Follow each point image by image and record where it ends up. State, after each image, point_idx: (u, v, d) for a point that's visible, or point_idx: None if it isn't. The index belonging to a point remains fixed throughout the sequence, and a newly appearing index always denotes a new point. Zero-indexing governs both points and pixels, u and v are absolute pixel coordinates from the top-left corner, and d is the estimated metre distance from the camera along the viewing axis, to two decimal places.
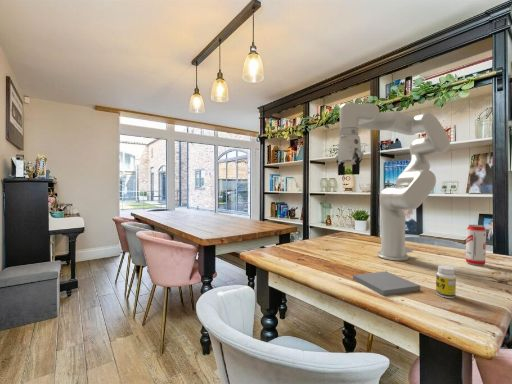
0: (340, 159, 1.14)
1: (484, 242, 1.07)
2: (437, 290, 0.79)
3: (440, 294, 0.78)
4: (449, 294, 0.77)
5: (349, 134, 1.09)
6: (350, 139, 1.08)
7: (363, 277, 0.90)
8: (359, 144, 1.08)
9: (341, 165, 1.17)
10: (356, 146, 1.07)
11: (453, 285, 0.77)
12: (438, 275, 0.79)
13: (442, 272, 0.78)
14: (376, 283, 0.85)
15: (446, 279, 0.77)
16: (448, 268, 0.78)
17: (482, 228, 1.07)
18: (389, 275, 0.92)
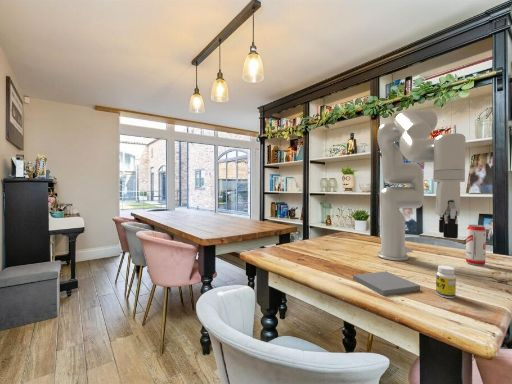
0: None
1: (484, 242, 1.07)
2: (437, 290, 0.79)
3: (440, 294, 0.78)
4: (449, 294, 0.77)
5: None
6: None
7: (363, 277, 0.90)
8: None
9: None
10: None
11: (453, 285, 0.77)
12: (438, 275, 0.79)
13: (442, 272, 0.78)
14: (376, 283, 0.85)
15: (446, 279, 0.77)
16: (448, 268, 0.78)
17: (482, 228, 1.08)
18: (389, 275, 0.92)
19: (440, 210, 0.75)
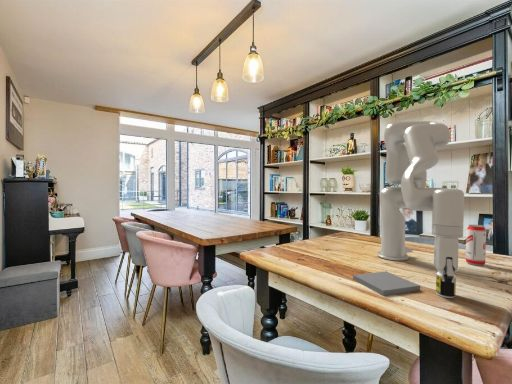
0: None
1: (484, 242, 1.07)
2: (437, 290, 0.79)
3: (440, 294, 0.78)
4: None
5: None
6: None
7: (363, 277, 0.90)
8: None
9: None
10: None
11: None
12: (438, 275, 0.79)
13: None
14: (376, 283, 0.85)
15: None
16: None
17: (482, 228, 1.07)
18: (389, 275, 0.92)
19: (438, 266, 0.76)
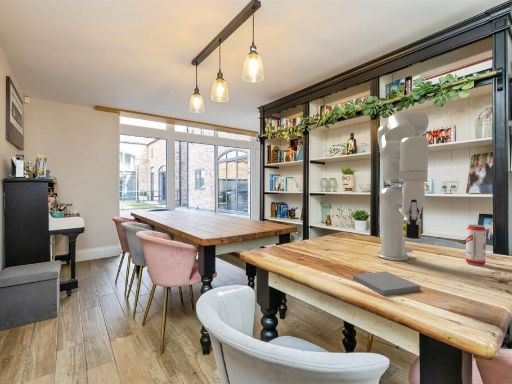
0: None
1: (484, 242, 1.07)
2: (404, 234, 0.84)
3: (406, 237, 0.83)
4: None
5: None
6: None
7: (363, 277, 0.90)
8: None
9: None
10: None
11: None
12: (405, 220, 0.83)
13: None
14: (376, 283, 0.85)
15: None
16: None
17: (482, 228, 1.07)
18: (389, 275, 0.92)
19: (404, 209, 0.80)
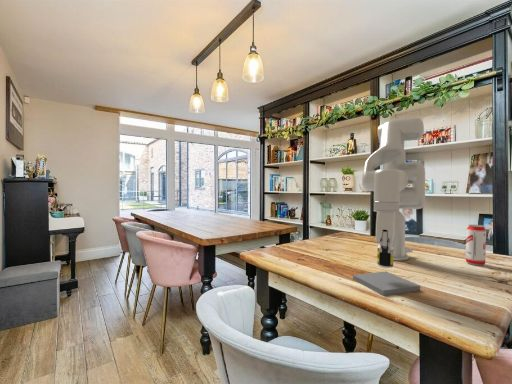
0: (392, 241, 0.84)
1: (484, 242, 1.07)
2: (377, 262, 0.87)
3: (379, 264, 0.86)
4: None
5: None
6: None
7: (363, 277, 0.90)
8: None
9: None
10: None
11: None
12: (378, 247, 0.87)
13: None
14: (376, 283, 0.85)
15: None
16: None
17: (482, 228, 1.08)
18: (389, 275, 0.92)
19: (376, 238, 0.84)
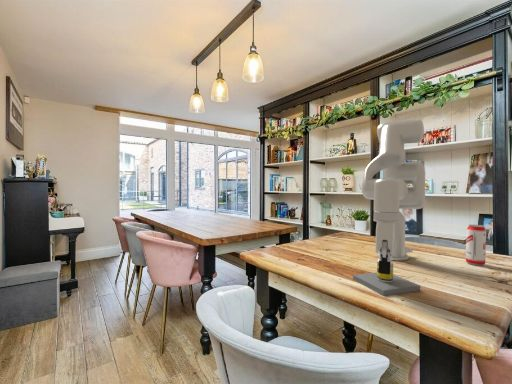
0: (392, 251, 0.84)
1: (484, 242, 1.07)
2: (377, 275, 0.88)
3: (379, 279, 0.87)
4: (386, 278, 0.85)
5: None
6: None
7: (363, 277, 0.90)
8: None
9: None
10: None
11: (390, 270, 0.85)
12: (378, 261, 0.87)
13: None
14: (376, 283, 0.85)
15: None
16: None
17: (482, 228, 1.07)
18: None
19: (376, 248, 0.84)
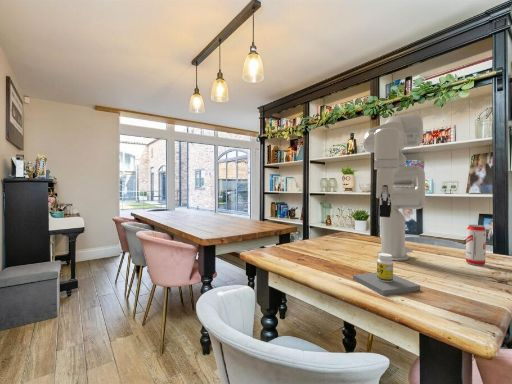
0: (392, 196, 0.89)
1: (484, 242, 1.07)
2: (377, 276, 0.88)
3: (379, 279, 0.87)
4: (386, 278, 0.85)
5: None
6: None
7: (363, 277, 0.90)
8: None
9: None
10: None
11: (390, 270, 0.85)
12: (378, 262, 0.87)
13: (381, 259, 0.86)
14: (376, 283, 0.85)
15: (384, 265, 0.85)
16: (386, 255, 0.86)
17: (482, 228, 1.08)
18: None
19: (377, 194, 0.89)
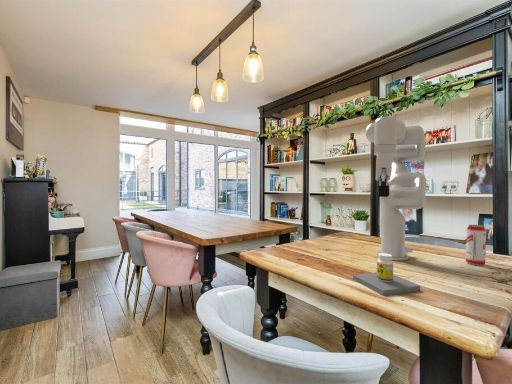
0: (390, 178, 0.98)
1: (484, 242, 1.07)
2: (377, 276, 0.88)
3: (379, 279, 0.87)
4: (386, 278, 0.85)
5: None
6: None
7: (363, 277, 0.90)
8: None
9: None
10: None
11: (390, 270, 0.85)
12: (378, 261, 0.87)
13: (381, 259, 0.86)
14: (376, 283, 0.85)
15: (384, 265, 0.85)
16: (386, 255, 0.86)
17: (482, 228, 1.08)
18: None
19: (376, 176, 0.98)
